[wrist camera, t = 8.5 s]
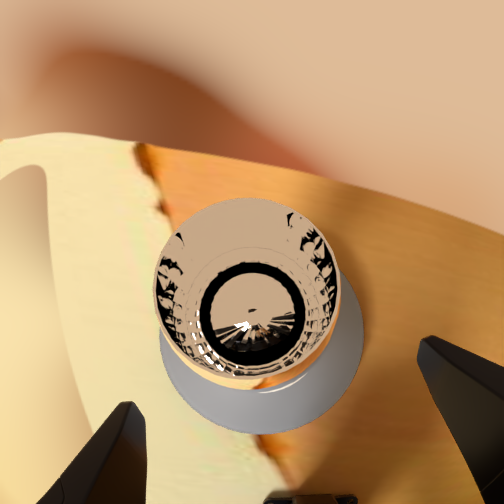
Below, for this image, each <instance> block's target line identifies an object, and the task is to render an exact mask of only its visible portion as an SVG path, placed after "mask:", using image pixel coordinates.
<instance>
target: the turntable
mask: <svg viewBox="0 0 504 504" xmlns="http://www.w3.org/2000/svg"><path fill="white" fill-rule="evenodd" d="M338 269H339V268H338ZM339 272H340V279H341V289H342V290H341V309H340V315H339V320H338V326H337V328H336V331H335V334H334V336H333V339H332V342H331V343H330V345H329V346H328V348H327V350H326V351H325V353H324V354H323V356H322V358H321V359H320V360H319V361H318V362H317V363H316V364H315V365H314V367H313V368H312V369H311V370H310V371H309V372H307V373H306V374H305V375H303V376H302V377H300V378H299V379H298V380H296V381H295V382H293V383H290V384H288V385H286V386H284V387H282V388H279V389H275V390H272V391H268V392H260V393H241V392H234V391H230V390H226V389H222V388H220V387H218V386H215V385H213V384H211V383H208V382H207V381H205V380H203V379H202V378H200V377H199V376H197V375H196V374H195V373H193V372H192V371H191V370H190V369H189V368H188V367H186V366H185V365H184V364H183V363H182V361H181V360H180V359H179V357H178V356H177V355H176V353H175V352H174V351H173V349H172V348H171V347H170V345H169V343H168V342H167V340H166V338H165V336H164V334H163V332H162V330H161V327H160V336H159V338H160V349H161V354H162V358H163V363H164V366H165V368H166V371H167V374H168V376H169V378H170V380H171V382H172V383H173V385H174V387H175V389H176V390H177V391H178V393H179V394H180V395H181V397H182V398H183V399H184V400H185V401H186V402H187V403H188V404H189V405H190V406H191V407H192V408H193V409H194V410H195V411H196V412H198V413H199V414H200V415H202V416H203V417H204V418H206V419H208V420H210V421H211V422H213V423H215V424H217V425H219V426H222V427H224V428H227V429H230V430H234V431H237V432H241V433H249V434H274V433H280V432H285V431H289V430H292V429H296V428H298V427H301V426H303V425H305V424H307V423H310V422H311V421H313V420H315V419H316V418H318V417H319V416H321V415H322V414H324V413H325V412H326V411H327V410H329V409H330V408H331V407H332V406H333V405H334V404H335V403H336V402H337V401H338V400H339V399H340V398H341V396H342V395H343V394H344V392H345V391H346V389H347V388H348V387H349V385H350V383H351V381H352V379H353V378H354V376H355V374H356V371H357V368H358V365H359V363H360V360H361V355H362V350H363V341H364V327H363V318H362V313H361V308H360V305H359V302H358V300H357V297H356V294H355V292H354V290H353V288H352V286H351V285H350V283H349V281H348V280H347V278H346V277H345V276H344V274H343V273H342V272H341V271H340V269H339Z"/></svg>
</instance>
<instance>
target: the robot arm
mask: <svg viewBox="0 0 504 504" xmlns="http://www.w3.org/2000/svg"><path fill="white" fill-rule="evenodd" d="M417 362H418V365H419V367H420V370H421V372H422V374H423V377H424V379H425V381H426V384H427V386H428V388H429V391H430V393H431V395H432V398H433V400H434V402H435V404H436V406H437V407H438V409H439V411H440V413H441V415H442V416H443V418H444V420H445V422H446V424H447V426H448V428H449V429H450V431H451V433H452V435H453V437H454V439H455V441H456V443H457V445H458V447H459V449H460V451H461V453H462V455H463V457H464V459H465V461H466V463H467V465H468V467H469V469H470V471H471V473H472V475H473V477H474V480H475V482H476V484H477V486H478V488H479V491H480V493H481V495H482V498H483V500H484V502H485V504H504V367H502V366H500V365H498V364H496V363H494V362H491V361H489V360H487V359H485V358H483V357H480V356H478V355H476V354H474V353H471V352H469V351H467V350H465V349H463V348H460V347H458V346H456V345H454V344H452V343H449V342H447V341H445V340H443V339H441V338H438V337H436V336H434V335H430V336H427V337H425V338H423V339H422V340H421V341H420V345H419V350H418V354H417ZM146 480H147V449H146V424H145V419H144V416H143V415H142V413H141V412H140V410H139V409H138V407H137V406H136V404H135V403H134V402H132V401H126V402H121V403H119V404H118V406H117V407H116V408H115V409H114V410H113V412H112V413H111V414H110V415H109V417H108V418H107V419H106V420H105V421H104V423H103V424H102V425H101V426H100V428H99V429H98V430H97V431H96V433H95V434H94V435H93V436H92V437H91V439H90V440H89V441H88V442H87V444H86V445H85V446H84V447H83V449H82V450H81V451H80V452H79V453H78V455H77V456H76V457H75V458H74V460H73V461H72V462H71V463H70V465H69V466H68V467H67V468H66V470H65V471H64V472H63V473H62V474H61V476H60V478H58V479H57V481H56V482H55V483H54V484H53V485H52V487H51V488H50V489H49V490H48V491H47V493H46V494H45V495H44V496H43V497H42V498H41V499H40V500H39V501H38V502H37V503H36V504H146ZM350 499H353V501H352V502H350V503H347V502H348V500H350ZM268 503H273V504H357V503H358V499H357V498H356V496H355V495H353V494H349V495H339V496H333V495H331V494H322V495H297V496H294V497H293V498H267V499H265V500H264V501H263V504H268Z"/></svg>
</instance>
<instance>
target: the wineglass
mask: <svg viewBox="0 0 504 504" xmlns="http://www.w3.org/2000/svg"><path fill="white" fill-rule="evenodd" d="M341 290H342V289H341V279H340V272H339V269H338V266H337V262H336V259H335V256H334V253H333V250H332V249H331V247H330V245H329V244H328V242H327V240H326V239H325V237H324V235H323V234H322V233H321V232H320V231H319V230H318V229H317V228H316V227H315V225H314V224H313V223H312V222H311V221H310V220H309V219H307V218H306V217H304V216H303V215H301V214H300V213H298V212H297V211H295V210H293V209H292V208H290V207H287V206H284V205H282V204H279V203H276V202H273V201H271V200H265V199H258V198H237V199H231V200H226V201H222V202H219V203H216V204H213V205H210V206H208V207H206V208H204V209H202V210H200V211H198V212H197V213H195V214H194V215H193V216H191V217H190V218H189V219H187V220H186V221H185V222H183V223H182V224H181V225H180V227H179V228H178V229H177V230H176V231H175V232H174V233H173V234H172V235H171V237H170V238H169V240H168V242H167V243H166V245H165V246H164V248H163V250H162V251H161V254H160V257H159V260H158V262H157V265H156V268H155V274H154V282H153V297H154V305H155V312H156V316H157V319H158V322H159V325H160V327H161V330H162V332H163V334H164V336H165V338H166V340H167V342H168V343H169V345H170V347H171V348H172V349H173V351H174V352H175V353H176V355H177V356H178V357H179V359H180V360H181V361H182V363H183V364H184V365H185V366H186V367H188V368H189V369H190V370H191V371H192V372H193V373H195V374H196V375H197V376H199V377H200V378H202V379H203V380H205V381H207V382H208V383H211V384H213V385H215V386H218V387H220V388H222V389H226V390H230V391H234V392H241V393H260V392H268V391H272V390H275V389H279V388H282V387H284V386H286V385H288V384H290V383H293V382H295V381H296V380H298V379H299V378H300V377H302V376H303V375H305V374H306V373H307V372H309V371H310V370H311V369H312V368H313V367H314V365H315V364H316V363H317V362H318V361H319V360H320V359H321V358H322V356H323V354H324V353H325V351H326V350H327V348H328V346H329V345H330V343H331V342H332V339H333V336H334V334H335V331H336V328H337V326H338V320H339V315H340V309H341Z"/></svg>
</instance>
